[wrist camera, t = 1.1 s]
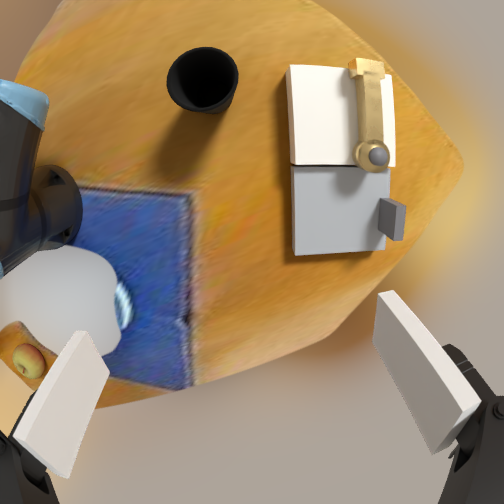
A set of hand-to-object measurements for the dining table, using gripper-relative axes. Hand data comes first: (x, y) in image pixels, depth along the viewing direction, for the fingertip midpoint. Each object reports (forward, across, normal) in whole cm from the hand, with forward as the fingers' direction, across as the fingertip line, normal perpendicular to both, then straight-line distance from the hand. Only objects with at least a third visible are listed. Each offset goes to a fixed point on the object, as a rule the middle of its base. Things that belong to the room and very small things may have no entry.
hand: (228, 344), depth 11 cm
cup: (+33, -1, +15) cm, 37 cm away
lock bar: (+27, +19, +10) cm, 35 cm away
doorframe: (+32, +16, +3) cm, 36 cm away
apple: (+34, -60, -29) cm, 75 cm away
